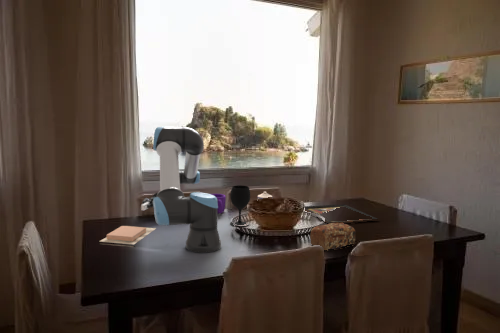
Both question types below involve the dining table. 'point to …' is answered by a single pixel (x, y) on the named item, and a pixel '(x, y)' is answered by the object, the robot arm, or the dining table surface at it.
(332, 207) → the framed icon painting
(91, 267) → the dining table surface
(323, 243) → the bread
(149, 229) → the board
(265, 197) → the teacup with lid
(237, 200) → the wine glass
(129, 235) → the tile
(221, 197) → the mug
